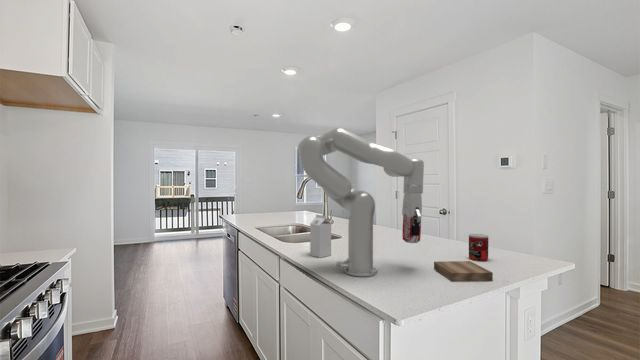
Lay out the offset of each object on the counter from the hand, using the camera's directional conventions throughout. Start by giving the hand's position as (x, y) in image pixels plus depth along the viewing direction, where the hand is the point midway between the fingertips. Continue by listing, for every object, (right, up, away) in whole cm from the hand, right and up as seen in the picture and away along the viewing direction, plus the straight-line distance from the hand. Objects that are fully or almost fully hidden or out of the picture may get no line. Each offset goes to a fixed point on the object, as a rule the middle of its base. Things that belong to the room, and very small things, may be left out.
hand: (411, 233), depth 125 cm
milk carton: (-37, -14, +21) cm, 45 cm away
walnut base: (+17, -15, -7) cm, 23 cm away
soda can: (0, -4, 0) cm, 4 cm away
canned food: (+35, -15, +15) cm, 41 cm away
